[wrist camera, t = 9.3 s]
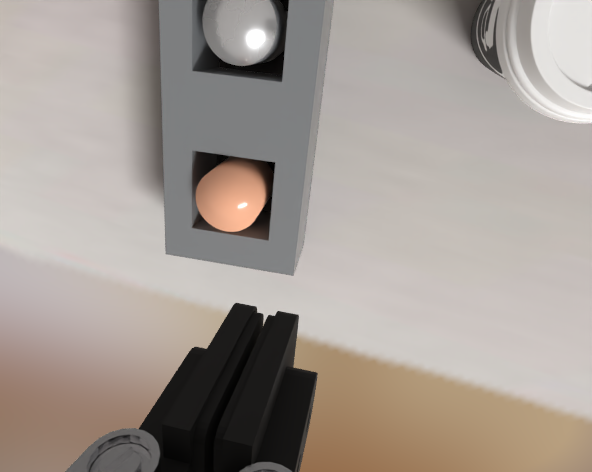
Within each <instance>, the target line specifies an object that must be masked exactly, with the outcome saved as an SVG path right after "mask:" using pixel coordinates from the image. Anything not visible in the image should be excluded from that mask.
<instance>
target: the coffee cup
mask: <svg viewBox="0 0 592 472" xmlns="http://www.w3.org/2000/svg"><path fill="white" fill-rule="evenodd" d="M471 40H472V46H473V49H474V52H475V54H476V56H477V58H478V59H479V61H480V62H481V63H482V64H483V65H484V66H485V67H487V68H488V69H490V70H491V71H493V72H494V73H496V74H498V75H499V76H501V77H503V78H504V79H506V80H507V82H508V84H509V85H510V87H511V88H512V90H513V91H514V92H515V94H516V95H517V96H518V97H519V98H520V99H521V100H522V101H523V102H524V103H525V104H526V105H528V106H529V107H530V108H532V109H533V110H535V111H537V112H538V113H540V114H542V115H545V116H547V117H549V118H552V119H555V120H559V121H564V122H570V123H592V0H483V1H482V2H481V4H480V6H479V7H478V9H477V11H476V14H475V16H474V19H473V23H472V29H471Z"/></svg>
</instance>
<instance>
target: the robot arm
mask: <svg viewBox="0 0 592 472" xmlns="http://www.w3.org/2000/svg"><path fill="white" fill-rule="evenodd" d="M298 320H299V316H298V315H296V314H291V313H286V312H281V311H278V312H277V313H276V315H275V316H272V315H268V317H267V319H266V321H265V324H264V326H263V314H261V313H257V307H255V306H250V305H245V304H240V303H235V304H234V305H233V307H232V308H231V310H230V312H229V313H228V315H227V317H226V318H225V320H224V322H223V323H222V325H221V327H220V328H219V330H218V332H217V333H216V335H215V337H214V338H213V340H212V342H211V343H210V345H209V346H208V348H207V349H204V348H199V347H194V348H192V349H191V351H190V352H189V353H188V355H187V356H186V358H185V359H184V361H183V362H182V364H181V365H180V367H179V368H178V370H177V371H176V373H175V374H174V376H173V377H172V379H171V381H170V382H169V384H168V385H167V387H166V388H165V390H164V391H163V393H162V394H161V396H160V397H159V399H158V400H157V402H156V403H155V405H154V406H153V408H152V409H151V411H150V412H149V414H148V415H147V417H146V418H145V420H144V422H143V423H142V425H141V426H140V428H139V429H135V428H131V429H130V428H129V429H120V430H117V431H113V432H110V433H108V434H106V435H104V436H102V437H101V438H99V439H98V440H96V441H95V442H94V443H93V444H92V445H90V446H89V447H88V448H87V449H86V450H85V451H84V452H83V453H82V455H81V456H80V457H79V458H78V459H77V460H76V461H75V462H74V463H73V464H72V465H71V466H70V467H69V468H68V469H67V470H66V471H65V472H299V471H300V466H301V462H302V457H303V452H304V448H305V443H306V438H307V433H308V429H309V424H310V419H311V413H312V407H313V401H314V396H315V389H316V381H317V373H316V372H311V371H307V370H302V369H297V368H293V365H294V356H295V347H296V338H297V329H298Z"/></svg>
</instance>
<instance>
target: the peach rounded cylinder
mask: <svg viewBox="0 0 592 472" xmlns="http://www.w3.org/2000/svg"><path fill="white" fill-rule="evenodd" d="M273 183H274V175H273V172H272V169H271V168H270V166H269V165H268V163H267V162H266V161H262V160H255V159H248V158H241V157H234V156H229V157H228V158H227V159H225V160H224V161H223V162H222V163H220V164H219V165H218V166H216V167H215V168H214V169H213V170H211V171H210V172H209V173H207V174H206V175H205V176H204V177H203V178H202V179H201V180H200V182H199V184H198V186H197V189H196V204H197V207H198V210H199V212H200V214H201V215H202V217H203V218H204V219H205V220H206V221H207V222H208V223H209V224H210V225H212V226H213V227H215V228H217V229H219V230H222V231H227V232H236V231H240V230H243V229H245V228H247V227H249V226H250V225H251V224H252V223H253V222H254V221H255V219H256V218H257V216H258V215H259V213H260V212H261V210H262V209H263V207H264V206H265V204H266V203H267V201H268V200H269V198H270V197H271V195H272V193H273Z"/></svg>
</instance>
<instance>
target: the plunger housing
mask: <svg viewBox="0 0 592 472" xmlns="http://www.w3.org/2000/svg"><path fill="white" fill-rule="evenodd" d="M206 3H207V0H159V29H160V65H161V102H162V138H163V175H164V211H165V248H166V254H168V255H174V256H180V257H186V258H192V259H198V260H204V261H210V262H216V263H221V264H227V265H233V266H239V267H245V268H251V269H257V270H263V271H268V272H274V273H280V274H286V275H292V276H293V275H294V272H295V269H296V266H297V263H298V260H299V257H300V254H301V251H302V248H303V245H304V237H305V229H306V221H307V213H308V205H309V197H310V189H311V181H312V173H313V165H314V157H315V148H316V140H317V132H318V124H319V116H320V108H321V100H322V92H323V84H324V76H325V68H326V59H327V51H328V43H329V35H330V27H331V19H332V11H333V3H334V0H289V7H288V19H287V31H286V42H285V54H284V66H283V75H277V74H269V73H261V72H253V71H245V70H237V69H228V68H220V67H219V62H220V58H219V57H218V56H217V55H216V54H215V53H214V52H213V51H212V50H211V48H210V47H209V45H208V43H207V41H206V38H205V35H204V31H203V21H202V20H203V12H204V8H205V5H206ZM217 154H220V155H227V156H234V157H241V158H248V159H255V160H262V161H269V162H275V172H274V183H273V195H272V207H271V212H266V211H261V212H260V213H259V215H258V216H257V218H256V219H255V221H254V222H253V223H252V224H251V225H250V226H249V227H247V228H245V229H243V230H240V231H236V232H227V231H222V230H219V229H217V228H215V227H213V226H212V225H210V224H209V223H208V222H207V221H206V220H205V219H204V218H203V217H202V215H201V214H200V212H199V210H198V207H197V204H196V189H197V186H198V184H199V182H200V180H201V179H202V178H203V177H204V176H205V175H206V174H207V173H209V172H210V171H211V170H213V169H214V168H215V167H216V166H217Z"/></svg>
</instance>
